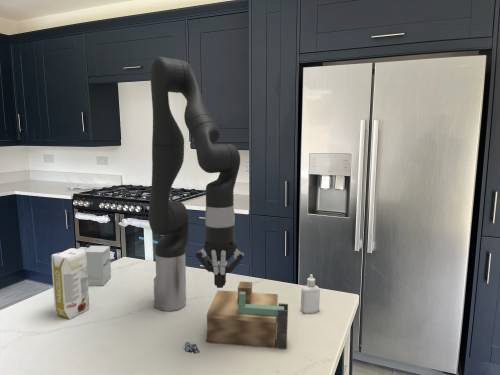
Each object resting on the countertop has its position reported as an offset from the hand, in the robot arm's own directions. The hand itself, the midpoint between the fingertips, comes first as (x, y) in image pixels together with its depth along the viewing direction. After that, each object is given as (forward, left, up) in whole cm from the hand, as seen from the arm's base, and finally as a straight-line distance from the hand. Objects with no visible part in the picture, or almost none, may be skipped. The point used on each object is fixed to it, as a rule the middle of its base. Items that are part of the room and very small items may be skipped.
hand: (220, 286), depth 96 cm
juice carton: (-47, +8, -15) cm, 50 cm away
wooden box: (+7, +5, -15) cm, 17 cm away
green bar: (+11, 0, -7) cm, 13 cm away
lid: (+6, +5, -8) cm, 11 cm away
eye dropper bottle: (+25, +19, -15) cm, 35 cm away
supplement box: (-51, +30, -15) cm, 61 cm away
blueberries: (-6, -5, -16) cm, 17 cm away
